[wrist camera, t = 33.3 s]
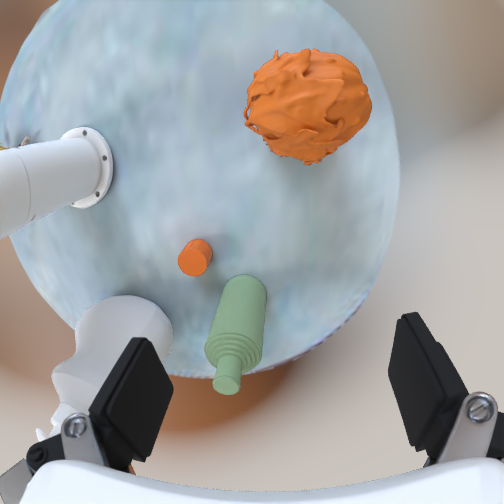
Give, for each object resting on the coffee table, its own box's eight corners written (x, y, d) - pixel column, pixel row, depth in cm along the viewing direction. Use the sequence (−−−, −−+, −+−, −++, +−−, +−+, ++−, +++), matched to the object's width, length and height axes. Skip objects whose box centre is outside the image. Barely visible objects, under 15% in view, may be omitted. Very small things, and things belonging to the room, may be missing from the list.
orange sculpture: (352, 143, 32) (417, 153, 16) (271, 170, 34) (267, 201, 18) (320, 64, 28) (358, 5, 12) (239, 90, 31) (203, 49, 14)
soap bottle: (178, 288, 42) (88, 456, 16) (186, 344, 47) (130, 495, 20) (92, 279, 44) (-15, 395, 17) (107, 331, 48) (30, 447, 21)
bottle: (228, 313, 43) (204, 405, 27) (219, 277, 41) (185, 365, 25) (269, 309, 42) (263, 404, 26) (262, 272, 40) (252, 363, 24)
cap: (217, 260, 40) (212, 271, 37) (193, 268, 41) (186, 280, 38) (204, 235, 39) (198, 244, 35) (180, 244, 40) (172, 254, 36)
